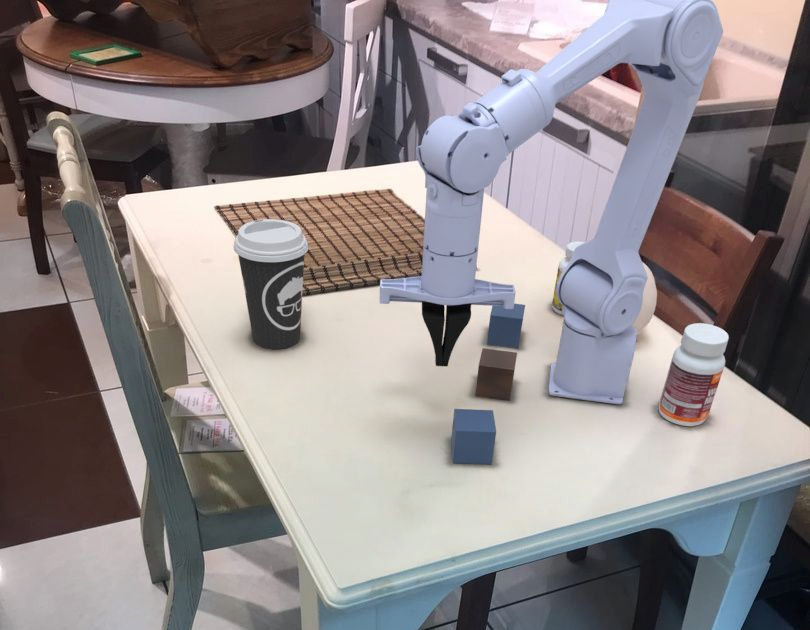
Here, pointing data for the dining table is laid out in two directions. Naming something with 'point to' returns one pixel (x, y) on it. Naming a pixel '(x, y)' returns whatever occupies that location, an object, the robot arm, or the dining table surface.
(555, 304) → the supplement bottle
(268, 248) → the coffee cup
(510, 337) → the blue block far
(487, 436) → the blue block near
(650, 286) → the egg
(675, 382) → the pill bottle
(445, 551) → the dining table surface
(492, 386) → the walnut block
